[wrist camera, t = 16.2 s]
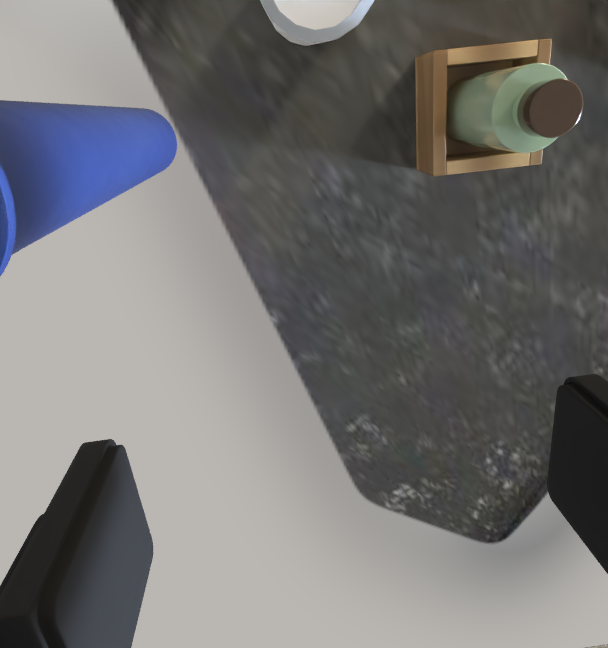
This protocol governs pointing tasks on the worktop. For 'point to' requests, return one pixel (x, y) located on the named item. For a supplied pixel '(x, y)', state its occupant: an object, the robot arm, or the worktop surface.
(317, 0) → the white cup
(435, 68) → the box
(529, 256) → the worktop surface
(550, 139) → the bottle
